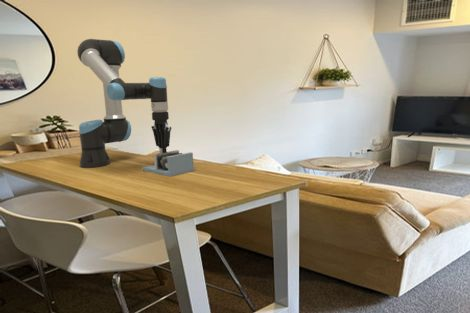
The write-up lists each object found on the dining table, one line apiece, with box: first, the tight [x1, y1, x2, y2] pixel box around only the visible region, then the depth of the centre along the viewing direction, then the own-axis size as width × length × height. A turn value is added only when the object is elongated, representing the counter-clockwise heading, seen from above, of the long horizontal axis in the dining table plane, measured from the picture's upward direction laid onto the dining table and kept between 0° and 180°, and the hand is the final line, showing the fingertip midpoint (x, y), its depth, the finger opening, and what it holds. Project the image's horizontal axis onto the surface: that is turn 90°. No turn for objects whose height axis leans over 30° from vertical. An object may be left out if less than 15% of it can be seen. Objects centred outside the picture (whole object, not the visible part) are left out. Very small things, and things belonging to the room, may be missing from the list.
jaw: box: [153, 149, 180, 170], centre depth 160 cm, size 2×13×7 cm, turn 138°
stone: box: [160, 152, 184, 170], centre depth 157 cm, size 14×7×10 cm, turn 138°
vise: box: [141, 152, 195, 177], centre depth 160 cm, size 22×14×8 cm, turn 47°
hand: (163, 161), depth 162 cm, fingers closed
